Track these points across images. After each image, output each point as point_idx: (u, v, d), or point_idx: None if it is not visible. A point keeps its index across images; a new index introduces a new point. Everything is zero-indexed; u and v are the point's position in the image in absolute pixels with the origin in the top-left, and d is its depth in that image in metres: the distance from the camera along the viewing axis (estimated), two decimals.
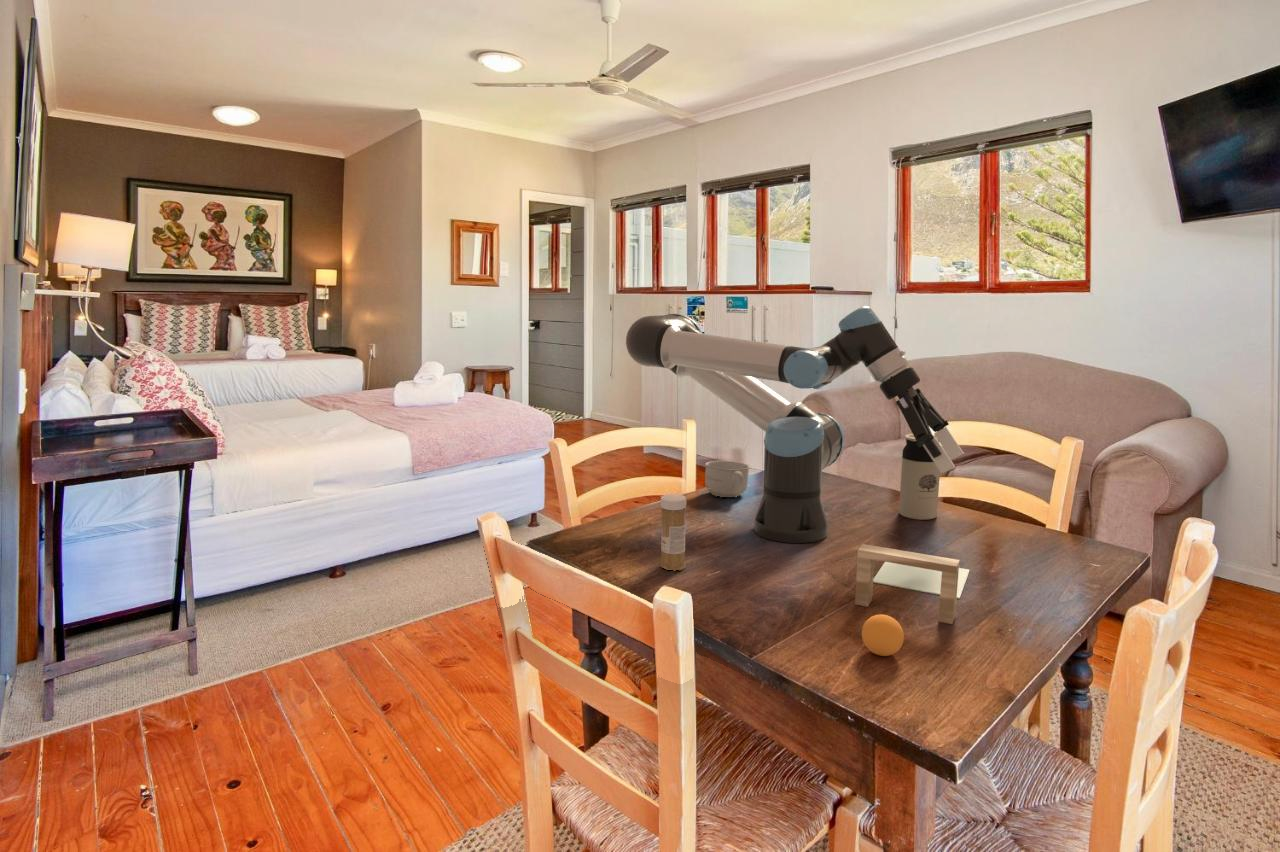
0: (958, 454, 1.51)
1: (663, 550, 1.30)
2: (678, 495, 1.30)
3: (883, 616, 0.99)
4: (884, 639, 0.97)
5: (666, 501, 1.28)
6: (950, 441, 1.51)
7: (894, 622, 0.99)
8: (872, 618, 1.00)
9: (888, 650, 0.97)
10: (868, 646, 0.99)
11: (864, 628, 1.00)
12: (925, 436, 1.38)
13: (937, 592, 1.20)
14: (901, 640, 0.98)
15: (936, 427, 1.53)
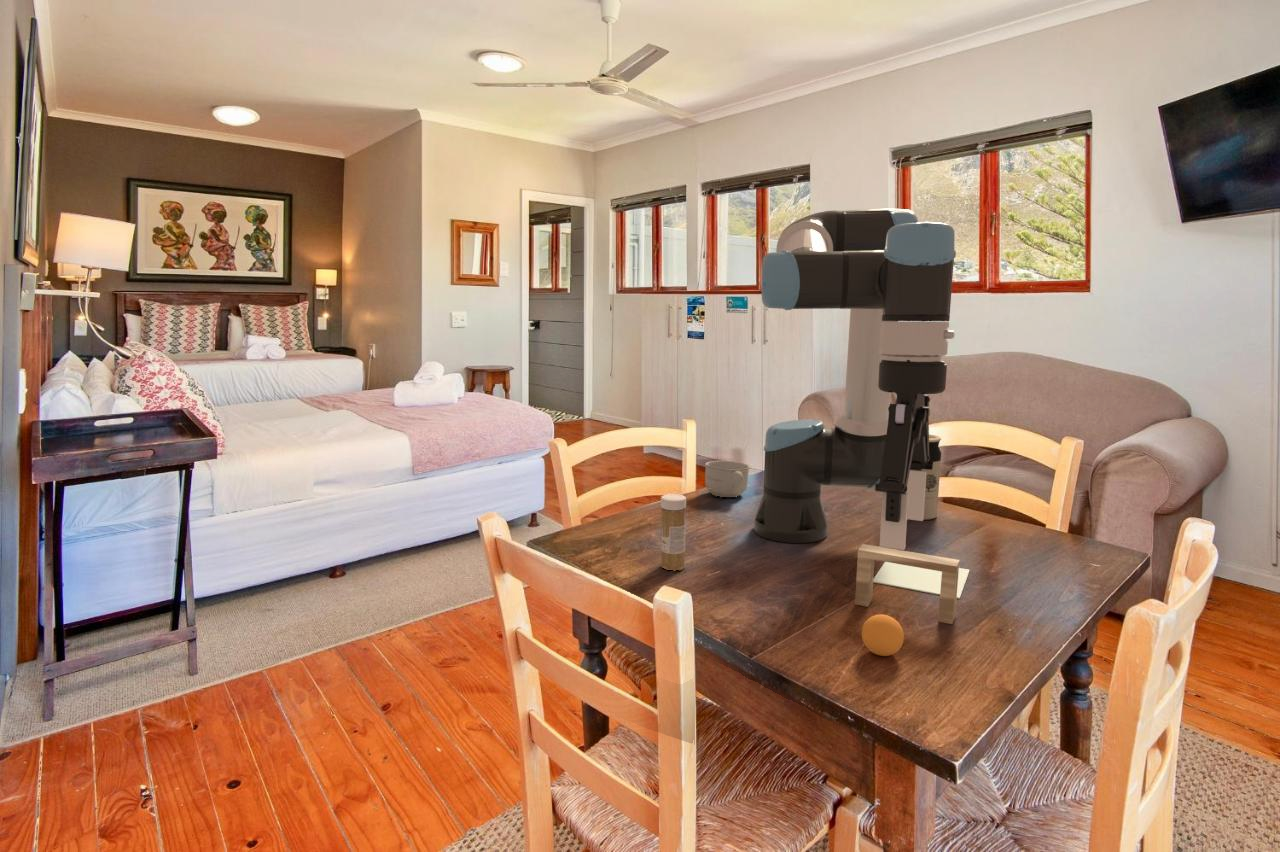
0: (915, 517, 0.94)
1: (663, 550, 1.30)
2: (678, 495, 1.30)
3: (883, 616, 0.99)
4: (884, 639, 0.97)
5: (666, 501, 1.28)
6: (917, 494, 0.93)
7: (894, 622, 0.99)
8: (872, 618, 1.00)
9: (888, 650, 0.97)
10: (868, 646, 0.99)
11: (864, 628, 1.00)
12: (897, 486, 0.78)
13: (937, 592, 1.20)
14: (901, 640, 0.98)
15: (912, 463, 0.94)
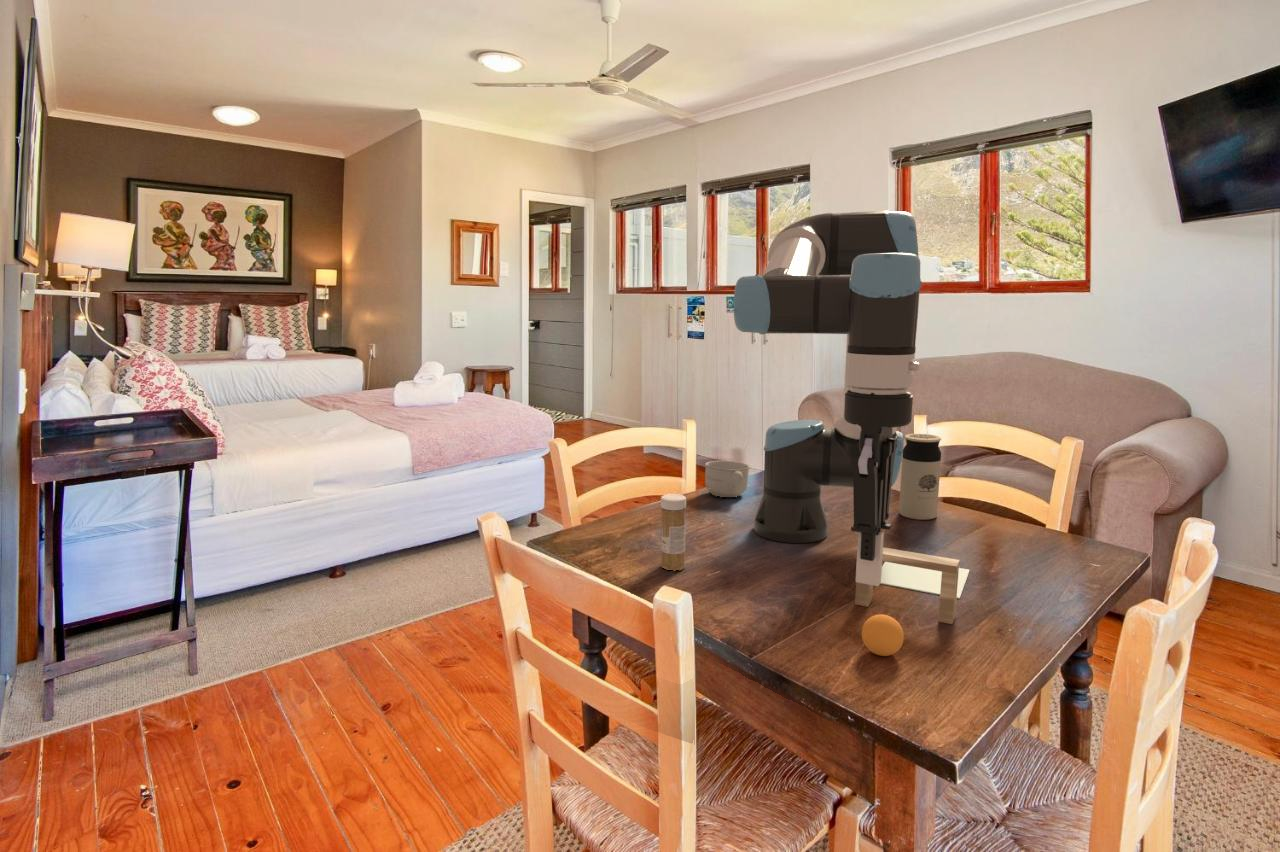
0: None
1: (663, 550, 1.30)
2: (678, 495, 1.30)
3: (883, 616, 0.99)
4: (884, 639, 0.97)
5: (666, 501, 1.28)
6: None
7: (894, 622, 0.99)
8: (872, 618, 1.00)
9: (888, 650, 0.97)
10: (868, 646, 0.99)
11: (864, 628, 1.00)
12: (870, 531, 0.83)
13: (937, 592, 1.20)
14: (901, 640, 0.98)
15: None
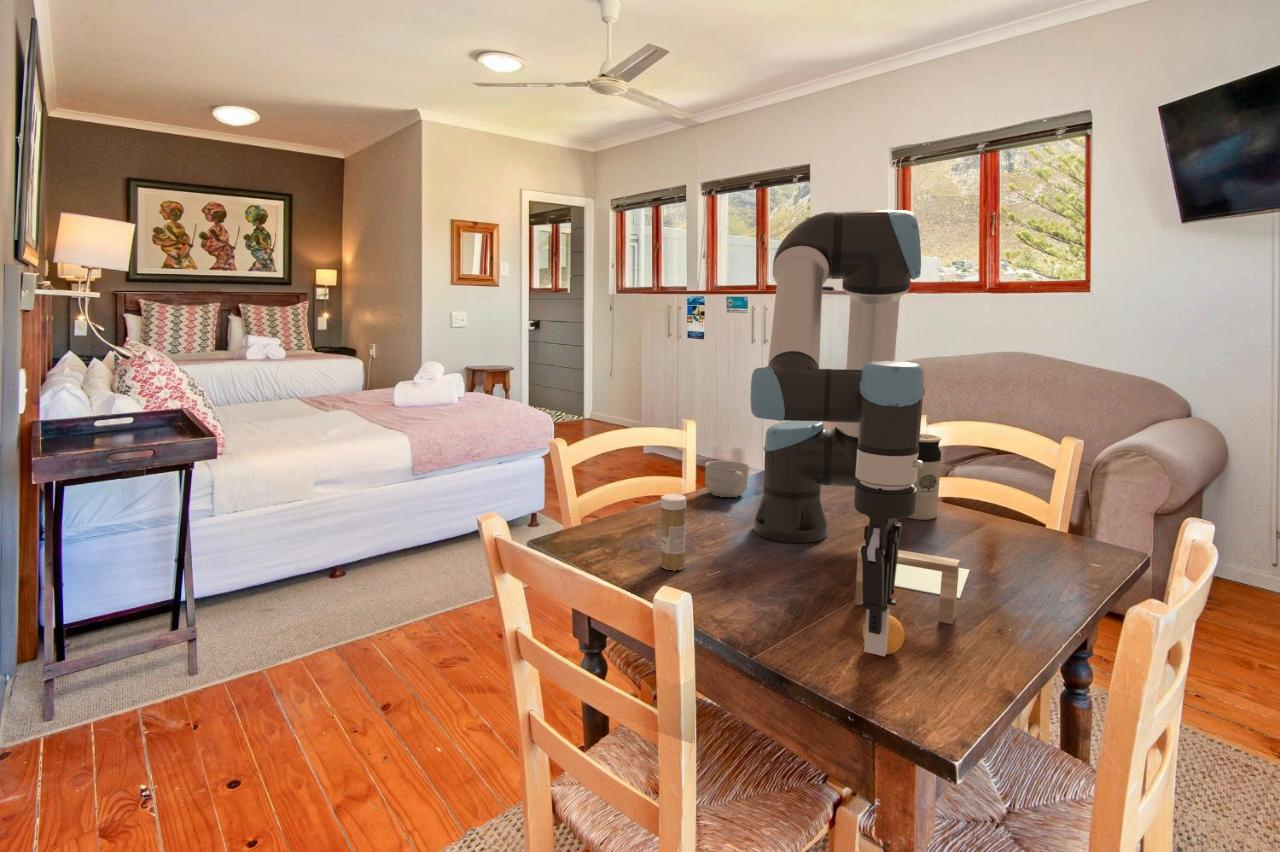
0: None
1: (663, 550, 1.30)
2: (678, 495, 1.30)
3: None
4: None
5: (666, 501, 1.28)
6: None
7: (895, 620, 0.99)
8: None
9: (889, 648, 0.98)
10: None
11: (865, 626, 1.00)
12: (877, 610, 0.93)
13: (937, 592, 1.20)
14: (902, 638, 0.98)
15: None
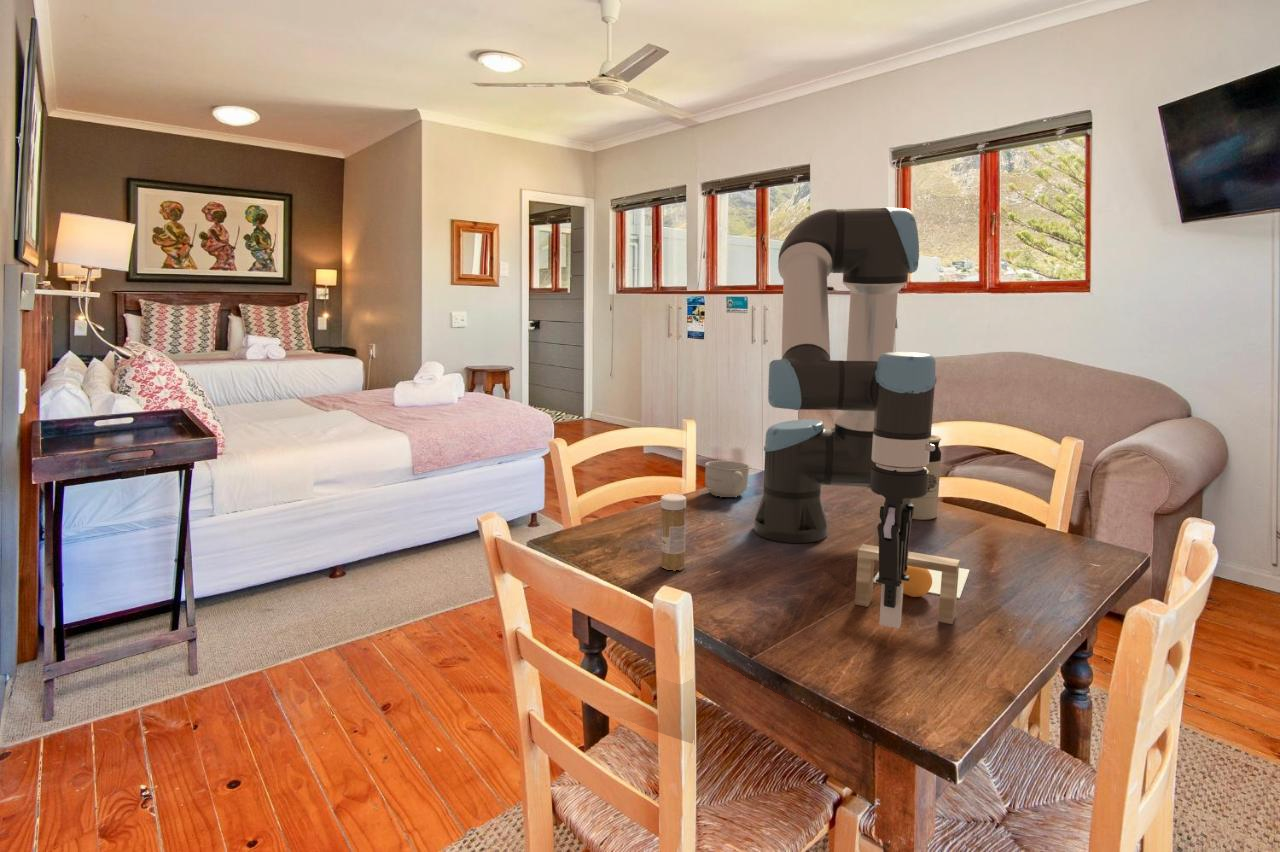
0: None
1: (663, 550, 1.30)
2: (678, 495, 1.30)
3: None
4: None
5: (666, 501, 1.28)
6: None
7: None
8: None
9: (921, 573, 1.17)
10: None
11: None
12: (892, 584, 0.99)
13: (937, 592, 1.20)
14: (931, 579, 1.17)
15: None
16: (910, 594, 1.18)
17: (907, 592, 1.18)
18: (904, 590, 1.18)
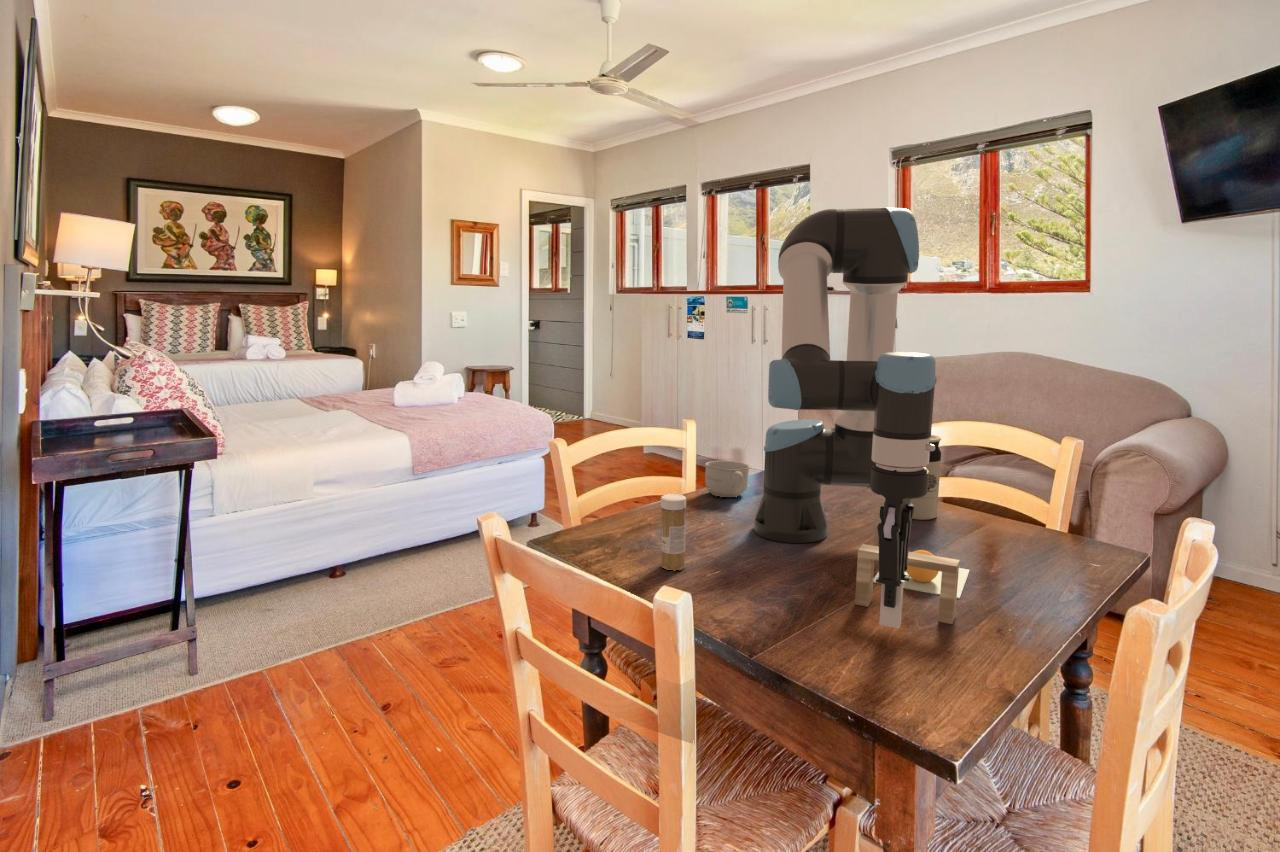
0: None
1: (663, 550, 1.30)
2: (678, 495, 1.30)
3: (919, 581, 1.24)
4: None
5: (666, 501, 1.28)
6: None
7: (929, 580, 1.23)
8: None
9: None
10: None
11: None
12: (892, 584, 0.99)
13: (937, 592, 1.20)
14: (938, 571, 1.24)
15: None
16: (923, 550, 1.25)
17: None
18: None
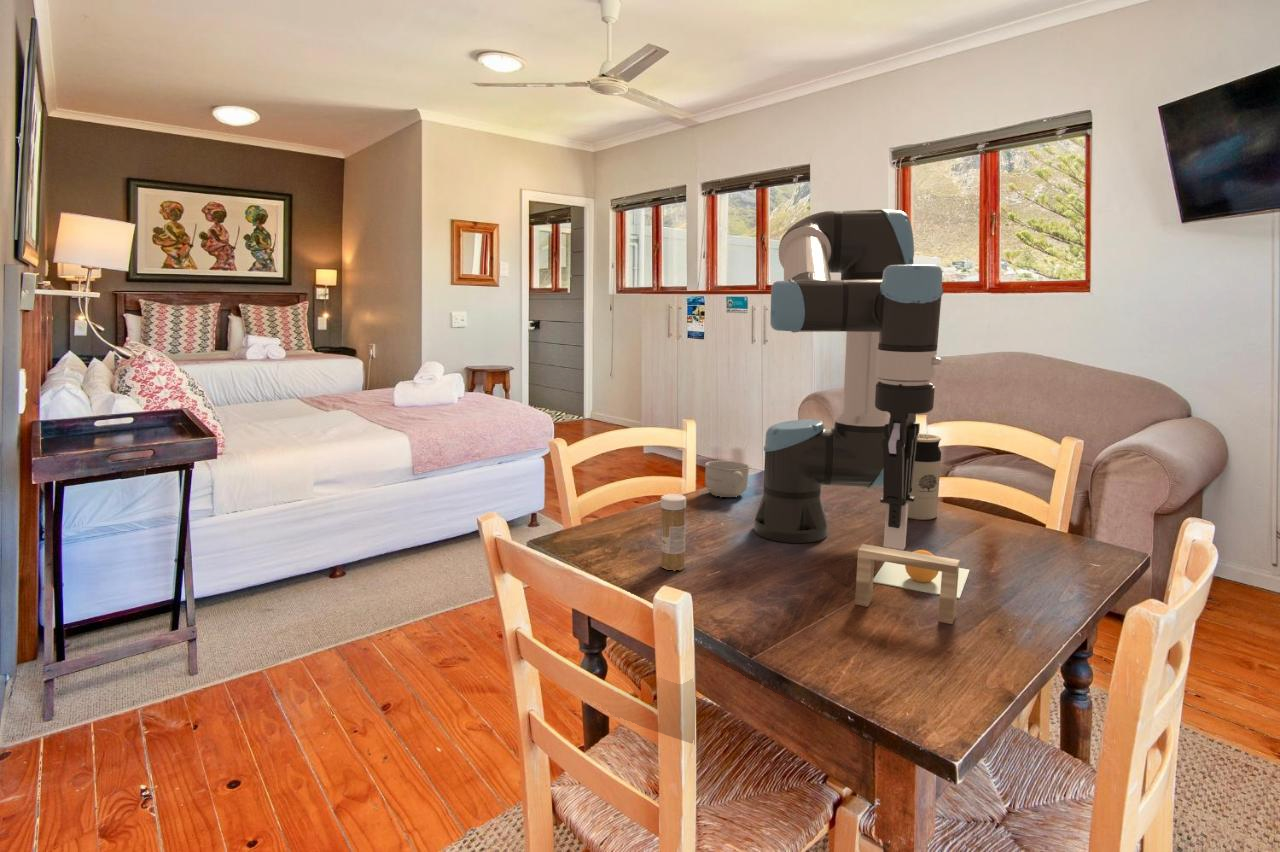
0: None
1: (663, 550, 1.30)
2: (678, 495, 1.30)
3: (919, 581, 1.24)
4: None
5: (666, 501, 1.28)
6: None
7: (929, 580, 1.23)
8: None
9: None
10: None
11: None
12: (897, 502, 0.98)
13: (937, 592, 1.20)
14: (938, 571, 1.24)
15: None
16: (923, 550, 1.25)
17: None
18: None
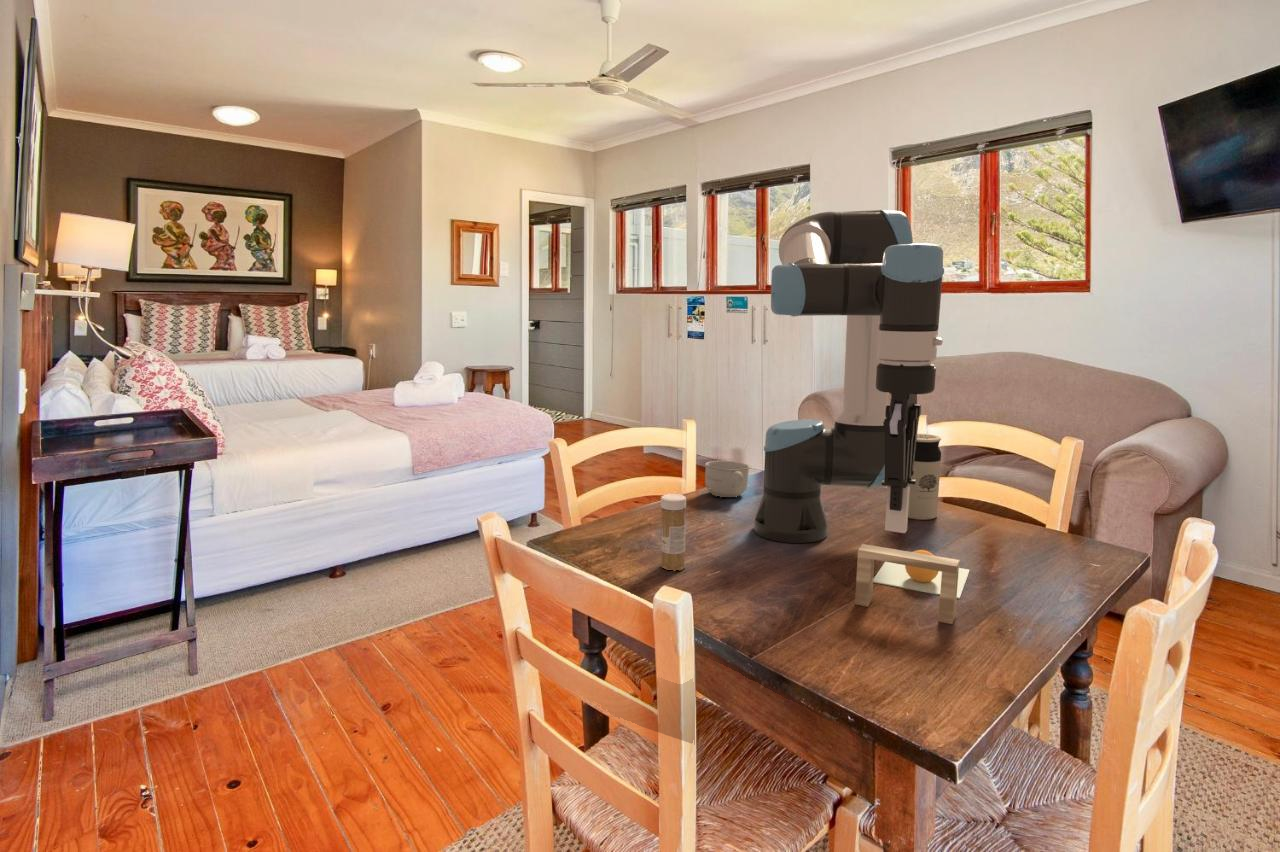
0: None
1: (663, 550, 1.30)
2: (678, 495, 1.30)
3: (919, 581, 1.24)
4: None
5: (666, 501, 1.28)
6: None
7: (929, 580, 1.23)
8: None
9: None
10: None
11: None
12: (899, 484, 0.97)
13: (937, 592, 1.20)
14: (938, 571, 1.24)
15: None
16: (923, 550, 1.25)
17: None
18: None
